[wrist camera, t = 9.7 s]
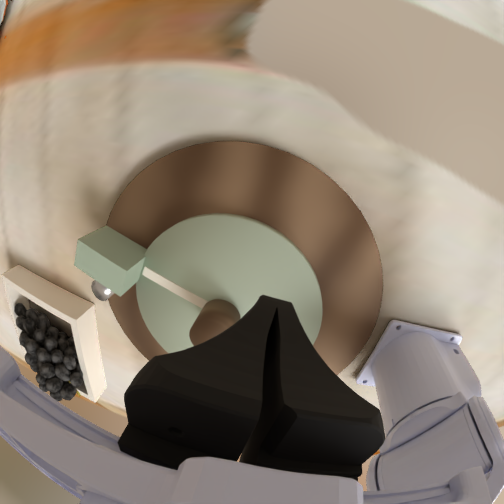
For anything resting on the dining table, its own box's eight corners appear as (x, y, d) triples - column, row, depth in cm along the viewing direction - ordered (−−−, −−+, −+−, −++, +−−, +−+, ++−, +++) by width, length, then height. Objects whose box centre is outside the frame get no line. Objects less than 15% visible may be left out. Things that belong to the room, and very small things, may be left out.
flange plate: (360, 275, 19) (371, 301, 16) (264, 394, 25) (259, 424, 21) (127, 154, 19) (96, 158, 15) (92, 300, 24) (69, 319, 21)
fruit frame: (94, 304, 27) (76, 320, 24) (107, 386, 32) (95, 402, 29) (18, 264, 28) (1, 274, 25) (37, 344, 33) (24, 356, 30)
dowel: (140, 259, 24) (108, 284, 19) (140, 276, 24) (109, 303, 20) (124, 253, 24) (90, 277, 19) (124, 270, 25) (92, 296, 20)
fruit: (-15, 333, 22) (60, 420, 23) (-1, 292, 21) (83, 391, 23) (20, 316, 30) (86, 389, 32) (39, 279, 30) (111, 358, 32)
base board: (423, 197, 18) (462, 215, 13) (316, 413, 27) (316, 455, 22) (119, 122, 20) (71, 119, 14) (112, 349, 29) (86, 381, 23)
